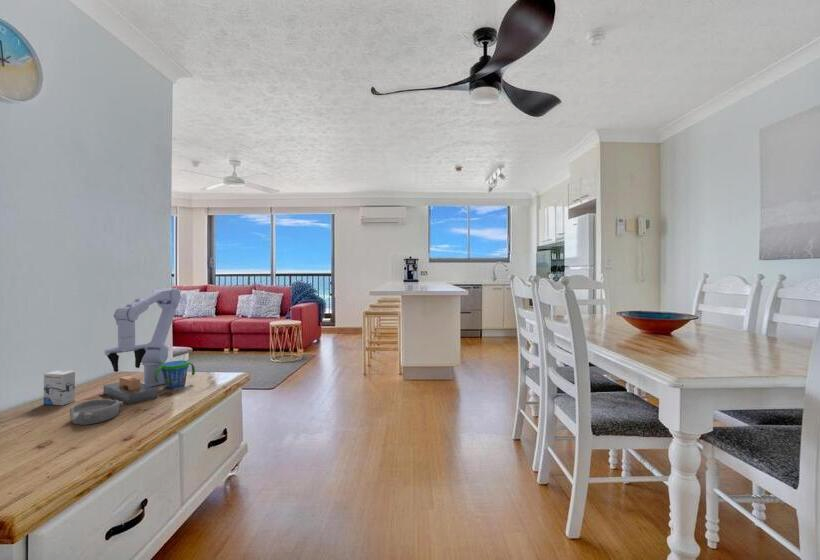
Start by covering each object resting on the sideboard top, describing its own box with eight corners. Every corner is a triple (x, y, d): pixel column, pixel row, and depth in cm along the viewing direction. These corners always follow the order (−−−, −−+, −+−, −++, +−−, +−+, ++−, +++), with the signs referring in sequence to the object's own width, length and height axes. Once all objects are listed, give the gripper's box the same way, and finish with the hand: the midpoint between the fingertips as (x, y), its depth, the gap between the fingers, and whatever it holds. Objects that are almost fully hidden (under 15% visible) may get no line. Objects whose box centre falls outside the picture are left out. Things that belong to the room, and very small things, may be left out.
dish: (91, 428, 127) (91, 412, 127) (57, 424, 130) (57, 409, 130) (131, 412, 141) (131, 398, 141) (100, 409, 144) (99, 396, 144)
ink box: (42, 404, 149) (42, 373, 148) (56, 400, 154) (55, 370, 153) (63, 405, 148) (63, 374, 148) (76, 401, 153) (75, 371, 153)
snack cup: (157, 392, 164) (156, 368, 164) (152, 386, 172) (151, 363, 172) (198, 385, 175) (198, 362, 175) (191, 380, 182) (191, 358, 182)
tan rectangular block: (127, 392, 164) (127, 375, 164) (140, 396, 159) (140, 379, 159) (119, 394, 161) (119, 377, 161) (131, 398, 156) (131, 380, 156)
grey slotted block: (131, 387, 171) (131, 379, 171) (157, 397, 157) (157, 388, 157) (103, 393, 162) (103, 385, 162) (128, 404, 149) (128, 395, 149)
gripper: (141, 333, 169) (142, 364, 169) (101, 337, 156) (101, 371, 157) (149, 334, 165) (150, 366, 165) (108, 339, 153) (109, 374, 153)
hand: (126, 369), depth 161 cm, fingers open, 7 cm apart
